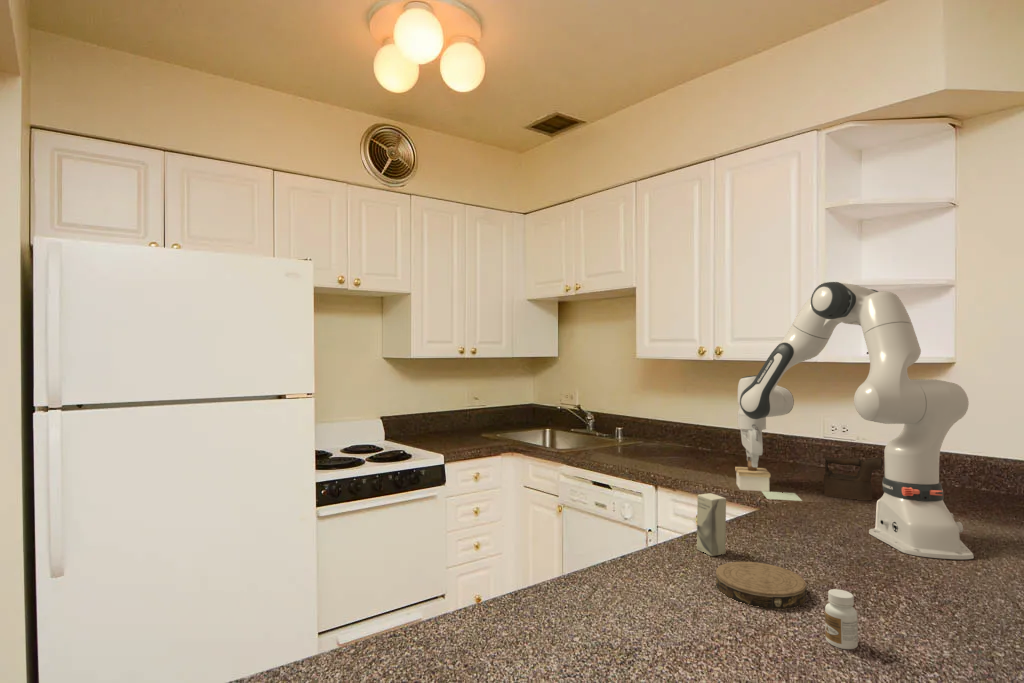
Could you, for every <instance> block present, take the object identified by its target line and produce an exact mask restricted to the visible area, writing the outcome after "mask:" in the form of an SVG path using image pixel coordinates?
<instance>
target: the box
mask: <svg viewBox="0 0 1024 683" xmlns="http://www.w3.org/2000/svg"><path fill="white" fill-rule="evenodd" d="M696 501H697V504H696V505H697V506H696V507H697V508H696V516H697V518H696V525H697V526H696V550H698V551H699V552H702V553H703V552H704V553H703V554H705V553H706V555H708V556H711V557H715V556H722V555H725V554H726V540H727V539H726V536H727V534H726V533H727V528H726V527H727V526H726V525H727V524H726V523H727V520H726V519H727V518H726V517H727V498H726V497H723V496H720V495H717V494H715V493H712V492H711V493H702V494H698V495H697V500H696ZM721 554H722V555H721Z"/></svg>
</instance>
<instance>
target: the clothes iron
mask: <svg viewBox="0 0 1024 683" xmlns="http://www.w3.org/2000/svg"><path fill="white" fill-rule="evenodd" d="M824 462H825V463H824V464H825V465H824V466H825V467H824V474H823V495H824V496H827V497H828V496H829V497H834V498H835V497H836V498H842V499H843V498H844V499H850V500H851V499H857V500H856V501H872V500H873V489H872V488H873V487H872V481H871V480H872V475H873V472H874V471H877V470H878V471H882V469H883V465H884V463H883V458H882V457H875V458H873V457H872V458H868V459H865V460H862V459H860V458H848V457H841V456H839V457H833V456H828V455H827V456H824ZM829 464H835V465H840V466H855V467H859V469H858V471H857V475H856V476H855V475H852V474H851V475H849V474H844V473H835V472H833V471H832V470H830V469H829Z"/></svg>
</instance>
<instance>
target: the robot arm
mask: <svg viewBox="0 0 1024 683" xmlns="http://www.w3.org/2000/svg"><path fill="white" fill-rule="evenodd" d="M840 323H843V324H847V325H856V326H860V327H861V329H862V333H863V338H864V340H865V341H864V342H865V344H866V349H867V352H868V356H869V372H868V374H867V377H866V379H865V380H864V381H863V382H862V383H861V384H860V385H859V386H858V387H857V389H856V390H855V392H854V396H853V405H854V408H855V410H856V411H857V413H858V415H859V416H860V417H861V418H862V419H864V420H866V421H869V422H874V423H879V424H886V425H892V424H893V425H895V424H896V425H901V424H902V425H903V428H902V430H901V432H900V434H899V435H898V436H896V437H895V438H893V439H892V440H890V441H888V442H887V444H885V447H884V451H883V452H884V454H883V456H884V476H883V477H882V482H881V483H882V484H881V485H882V491H883V495H882V496H881V497H880V498H879V499H878V500H877V501H876V509H875V510H876V511H875V524H874V525H875V527H874V528H870V529H869V530H868V533H869V535H871V536H872V537H874V538H875V539H878V540H880V541H882V542H884V543H885V544H887V545H889V546H891V547H893V548H894V549H896V550H897V551H899V552H901V553H903V554H907V555H912V556H917V557H925V558H933V559H944V560H972V559H974V553H973V552H972V551H971V550H970V549H969V548H968V547H967V545H966V544H965V543H963V541H962V540H961V538H960V537H961V536H960V533H963V531H964V527H963V525H964V524H963V523H962V522H961V521H955V519H954V514H953V512H950V510H949V509H948V507H947V506H946V503H945V502H944V500H945V498H944V497H945V496H944V489H943V486H942V483H941V482H940V455H941V448H942V445H943V444H944V443H943V442H944V440H945V438H946V435H947V434H948V432H950V429H951V428H952V427H953V426H954V425H955V424H956V423H957V422H958V421H959V420H961V419H963V418H964V417H965V416H966V414H967V412H968V409H969V404H970V403H969V397H968V395H967V393H966V391H965V389H964V388H963V387H961V385H959V384H957V383H954V382H950V381H946V380H941V379H910V377H909V373H908V368H909V367H910V366H912V365H914V364H915V363H916V362H917V361H918V360H919V359H920V356H921V352H922V350H921V346H920V343H919V340H918V338H917V334H916V331H915V328H914V325H913V323H912V320H911V317H910V315H909V313H908V311H907V309H906V307H905V305H904V304H903V302H902V300H901V299H900V297H899V296H898V295H897V294H895V293H894V292H891V291H886V290H885V291H884V290H883V291H878V290H876V289H872V288H871V289H869V288H867V287H865V286H860V285H858V284H853V283H852V284H851V283H846V282H845V283H844V282H838V281H827V282H823V283H821V284H819V285H818V286H817V287H816V288H815V289H814V290H813V292H812V294H811V297H809V299H807V301H806V302H805V303H804V304H803V305H802V307H801V308H800V310H799V311H798V313H797V315H796V316H795V318H794V320H793V322H792V324H791V326H790V328H789V330H788V331H787V332H786V334H785V335H784V337H783V338H782V340H781V341H780V342H779V343H778V344H777V346H775V348H774V349H773V351H772V352H771V353H770V354H769V356H768V358H767V359H766V360H765V363H764V364H763V365H762V367H761V368H760V370H759V371H758V373H757V374H755V375H746V376H744V377H741V378H740V379H739V380H738V384H737V400H736V402H737V405H738V410H737V428H738V429H740V437H741V438H740V439H741V444H742V446H743V447H744V449H745V453H746V461H747V462H748V461H750V460H751V466H752V467H756V468H759V467H758V466H759V458H760V456H763V453H764V449H763V448H764V447H763V446H764V444H763V430H764V431H765V430H767V418H770V417H781V416H785V415H787V414H790V412H791V411H792V410H793V408H794V405H795V404H794V403H795V400H794V395H793V393H792V392H791V391H790V390H789V389H788V388H786V387H783V386H780V385H778V383H780V381H781V380H782V377H783V376H784V374H785V373H786V372H787V371H788V370H789V369H791V368H792V367H794V366H796V365H797V364H801V363H802V362H805V361H808V360H811V359H813V358H816V357H817V356H818V355H820V353H822V351H823V350H824V349H825V347H826V346H827V345H828V342H829V340H830V339H831V336H832V334H833V332H834V330H835V328H836V327H837V326H838V325H839V324H840Z"/></svg>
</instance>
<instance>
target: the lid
mask: <svg viewBox="0 0 1024 683" xmlns="http://www.w3.org/2000/svg"><path fill="white" fill-rule="evenodd" d="M734 469H735V473H736V472H737V474H738V475H739V476H750V477H769V478H771V473H770V472H769V471H768V470H767V468H766V467H757V468H756V467H752V466H751V460H750V461H747V466H735V468H734Z"/></svg>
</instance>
